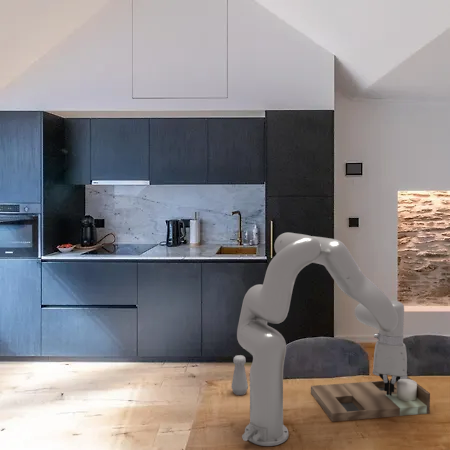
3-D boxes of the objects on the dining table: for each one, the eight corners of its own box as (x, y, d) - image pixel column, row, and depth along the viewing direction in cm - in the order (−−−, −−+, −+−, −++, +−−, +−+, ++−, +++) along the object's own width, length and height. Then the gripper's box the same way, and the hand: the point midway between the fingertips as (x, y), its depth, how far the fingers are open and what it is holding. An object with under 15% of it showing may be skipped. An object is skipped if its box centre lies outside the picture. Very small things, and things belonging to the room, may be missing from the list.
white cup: (414, 403, 146) (414, 387, 146) (394, 398, 150) (395, 383, 149) (418, 395, 151) (418, 381, 151) (399, 391, 155) (399, 377, 154)
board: (332, 421, 140) (332, 400, 140) (310, 392, 160) (310, 374, 159) (429, 413, 145) (430, 393, 144) (397, 386, 165) (397, 368, 164)
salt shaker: (248, 396, 158) (248, 359, 157) (231, 396, 158) (231, 359, 157) (247, 389, 163) (247, 353, 162) (231, 389, 164) (231, 353, 163)
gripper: (366, 339, 149) (364, 394, 150) (415, 345, 144) (413, 402, 145) (367, 333, 156) (366, 385, 157) (415, 338, 151) (413, 392, 152)
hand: (389, 393), depth 151 cm, fingers closed
